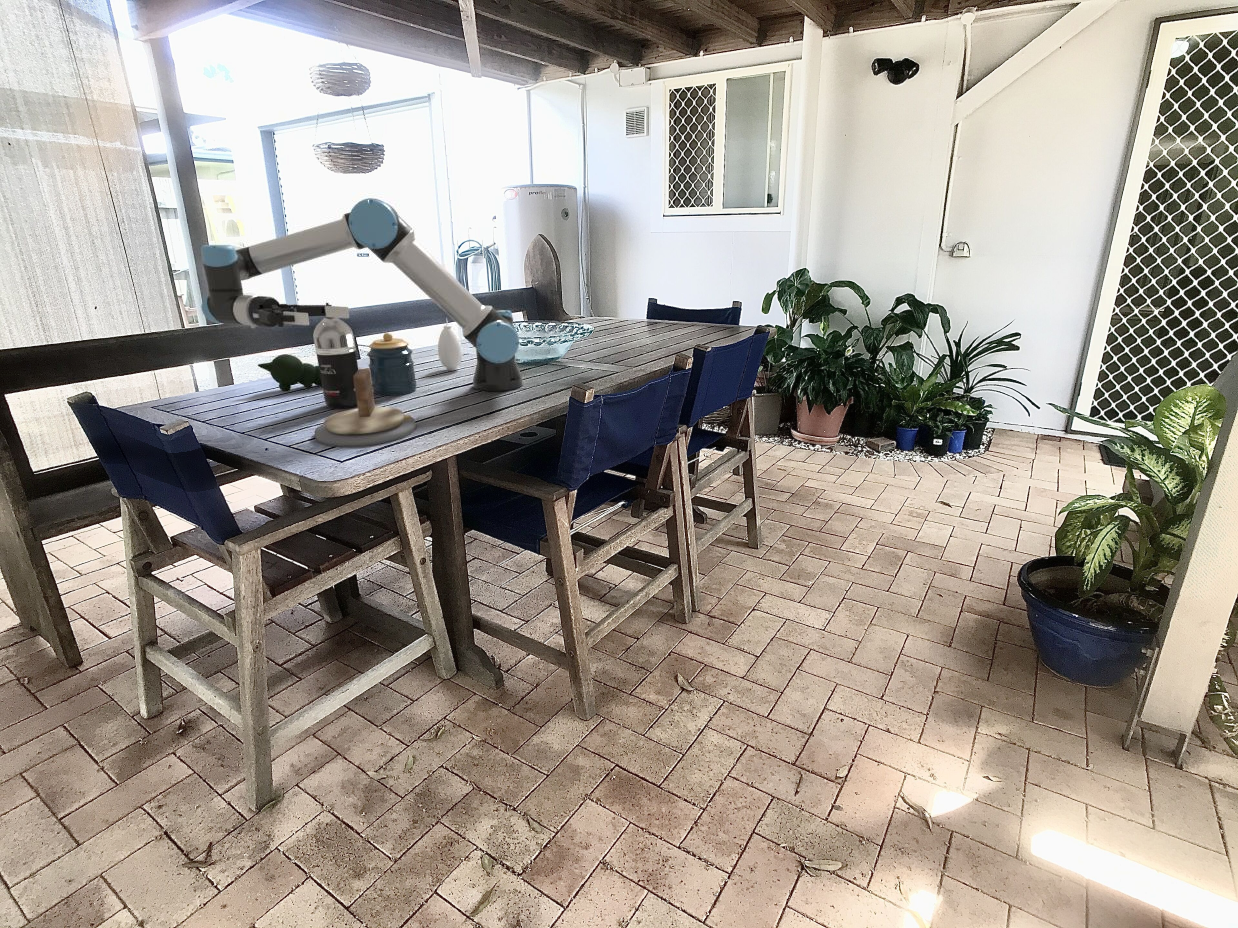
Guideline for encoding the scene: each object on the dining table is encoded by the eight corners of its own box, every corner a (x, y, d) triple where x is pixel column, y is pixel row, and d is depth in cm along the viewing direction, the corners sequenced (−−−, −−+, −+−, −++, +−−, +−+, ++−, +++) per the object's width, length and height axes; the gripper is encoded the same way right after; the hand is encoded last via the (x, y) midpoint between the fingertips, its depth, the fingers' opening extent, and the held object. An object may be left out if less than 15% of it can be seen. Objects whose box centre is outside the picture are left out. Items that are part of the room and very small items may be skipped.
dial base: (419, 415, 171) (418, 409, 170) (411, 442, 149) (410, 434, 149) (326, 421, 166) (325, 414, 166) (305, 450, 145) (303, 442, 144)
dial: (407, 410, 167) (401, 366, 163) (400, 431, 150) (393, 382, 146) (333, 415, 164) (326, 370, 160) (317, 436, 147) (308, 387, 143)
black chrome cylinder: (350, 410, 176) (335, 317, 167) (317, 409, 178) (300, 317, 169) (371, 401, 185) (358, 312, 177) (339, 399, 187) (324, 312, 179)
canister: (392, 398, 188) (384, 337, 182) (363, 393, 195) (354, 334, 189) (426, 389, 199) (419, 331, 193) (397, 384, 205) (390, 328, 199)
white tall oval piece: (455, 373, 220) (449, 319, 214) (435, 371, 222) (429, 318, 216) (467, 368, 227) (462, 316, 220) (448, 367, 229) (443, 315, 223)
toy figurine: (343, 385, 212) (257, 389, 198) (339, 326, 207) (251, 327, 192) (351, 390, 205) (263, 395, 191) (348, 330, 200) (256, 330, 185)
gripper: (298, 320, 175) (364, 324, 169) (219, 333, 153) (291, 339, 147) (294, 292, 172) (360, 295, 166) (212, 300, 150) (286, 305, 144)
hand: (328, 315), depth 156 cm, fingers open, 13 cm apart
